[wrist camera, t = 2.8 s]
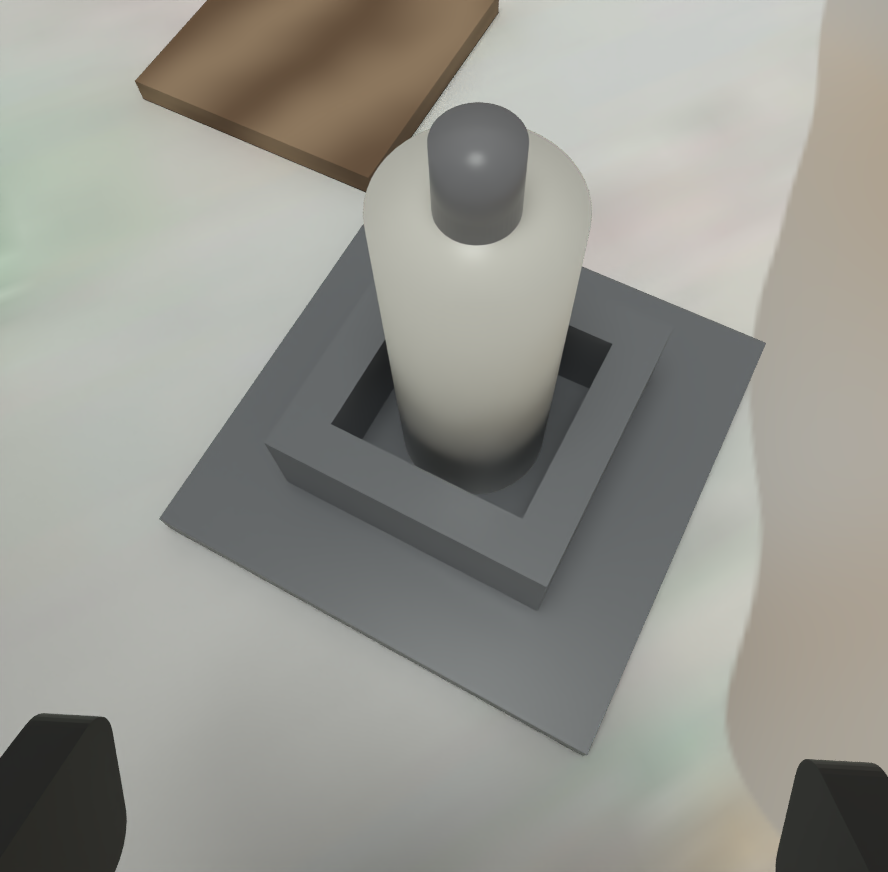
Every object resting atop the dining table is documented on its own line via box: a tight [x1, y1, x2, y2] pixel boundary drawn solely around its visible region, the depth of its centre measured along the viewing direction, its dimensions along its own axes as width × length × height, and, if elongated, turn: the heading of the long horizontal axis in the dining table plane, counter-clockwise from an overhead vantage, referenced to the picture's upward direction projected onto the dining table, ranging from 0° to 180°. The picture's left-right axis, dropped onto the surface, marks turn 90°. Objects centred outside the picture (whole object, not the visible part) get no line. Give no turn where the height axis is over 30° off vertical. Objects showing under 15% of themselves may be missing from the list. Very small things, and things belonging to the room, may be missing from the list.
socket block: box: [159, 224, 766, 756], centre depth 27 cm, size 16×16×4 cm
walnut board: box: [135, 0, 499, 192], centre depth 37 cm, size 12×12×1 cm
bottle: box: [363, 102, 592, 494], centre depth 22 cm, size 5×5×14 cm
